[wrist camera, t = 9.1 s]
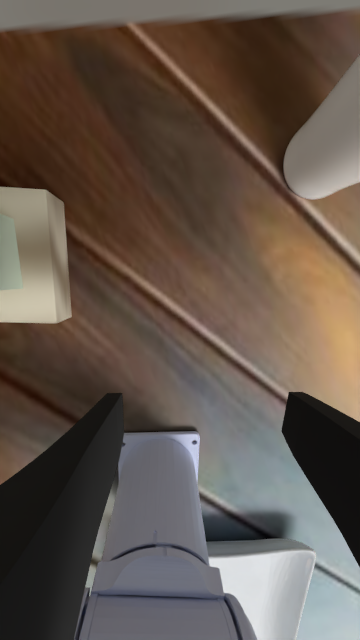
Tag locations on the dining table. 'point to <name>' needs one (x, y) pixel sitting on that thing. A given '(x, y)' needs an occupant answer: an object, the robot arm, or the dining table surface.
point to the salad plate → (266, 581)
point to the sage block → (9, 256)
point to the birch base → (37, 257)
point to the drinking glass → (328, 143)
